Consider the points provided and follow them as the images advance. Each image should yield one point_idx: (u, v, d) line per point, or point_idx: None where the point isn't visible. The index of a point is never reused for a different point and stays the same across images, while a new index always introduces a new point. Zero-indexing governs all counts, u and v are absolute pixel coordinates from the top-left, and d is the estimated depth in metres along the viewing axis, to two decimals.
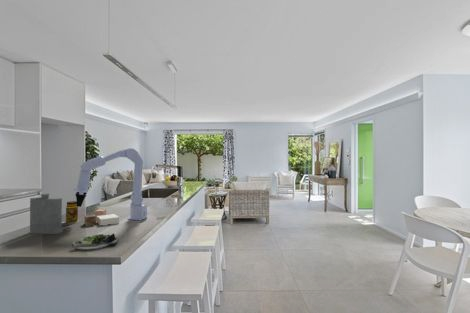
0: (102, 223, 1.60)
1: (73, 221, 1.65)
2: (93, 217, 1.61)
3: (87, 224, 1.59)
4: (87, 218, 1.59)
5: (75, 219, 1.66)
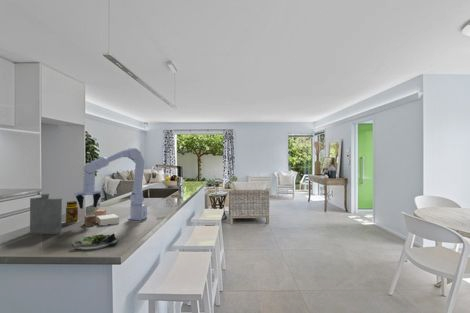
0: (102, 223, 1.60)
1: (73, 221, 1.65)
2: (93, 217, 1.61)
3: (87, 224, 1.59)
4: (87, 218, 1.59)
5: (75, 219, 1.66)
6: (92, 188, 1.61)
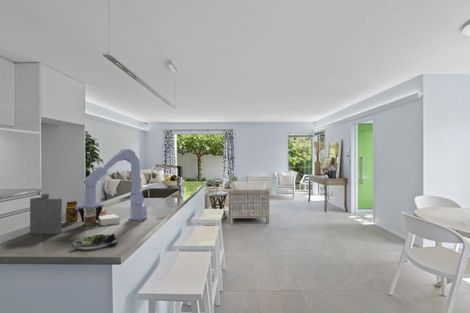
0: (102, 223, 1.60)
1: (73, 221, 1.65)
2: (93, 217, 1.61)
3: (87, 224, 1.59)
4: (87, 218, 1.59)
5: (75, 219, 1.66)
6: (92, 202, 1.60)
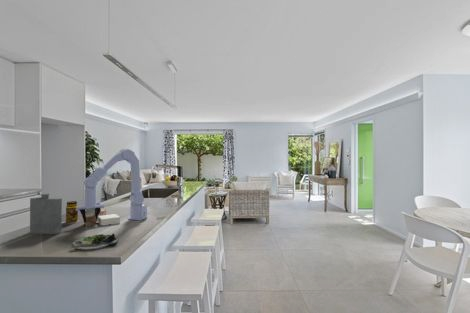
0: (103, 223, 1.60)
1: (73, 221, 1.65)
2: (93, 217, 1.61)
3: (87, 224, 1.59)
4: (87, 218, 1.59)
5: (75, 219, 1.66)
6: (92, 203, 1.60)
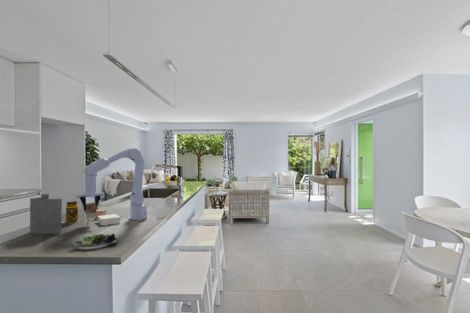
0: (103, 223, 1.60)
1: (73, 221, 1.65)
2: (93, 205, 1.60)
3: (87, 211, 1.59)
4: (87, 205, 1.59)
5: (75, 219, 1.66)
6: (92, 190, 1.60)
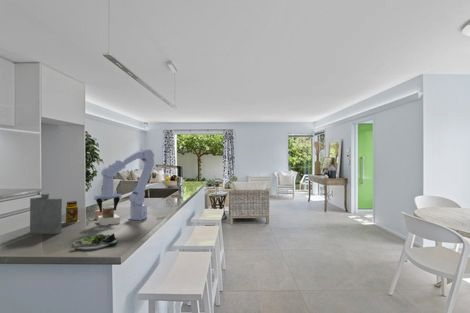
0: (103, 223, 1.60)
1: (73, 221, 1.65)
2: (111, 209, 1.65)
3: (105, 216, 1.63)
4: (105, 210, 1.63)
5: (75, 219, 1.66)
6: (110, 192, 1.64)
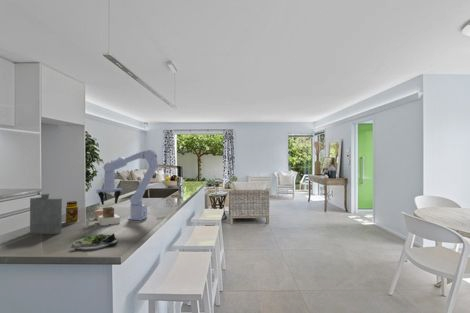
0: (103, 223, 1.60)
1: (73, 221, 1.65)
2: (111, 209, 1.65)
3: (106, 216, 1.63)
4: (106, 210, 1.63)
5: (75, 219, 1.66)
6: (111, 186, 1.73)
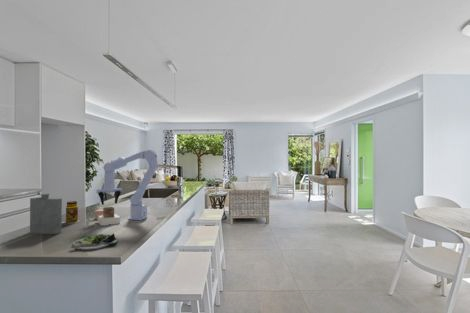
0: (103, 223, 1.60)
1: (73, 221, 1.65)
2: (111, 209, 1.65)
3: (106, 216, 1.63)
4: (106, 210, 1.63)
5: (75, 219, 1.66)
6: (111, 186, 1.73)
